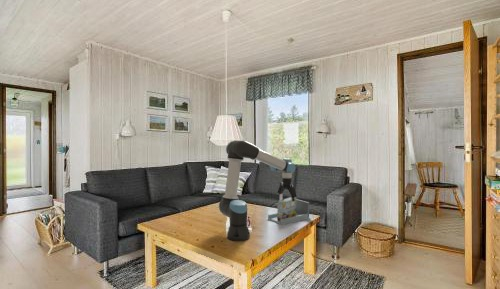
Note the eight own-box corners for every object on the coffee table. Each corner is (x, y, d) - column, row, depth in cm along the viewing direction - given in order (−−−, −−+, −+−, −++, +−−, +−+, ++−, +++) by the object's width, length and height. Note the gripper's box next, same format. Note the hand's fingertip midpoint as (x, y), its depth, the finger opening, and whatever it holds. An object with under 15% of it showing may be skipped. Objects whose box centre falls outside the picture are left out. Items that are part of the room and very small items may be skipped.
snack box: (283, 221, 199) (283, 202, 199) (277, 220, 203) (277, 201, 203) (296, 215, 216) (296, 197, 215) (290, 214, 219) (290, 196, 219)
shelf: (281, 224, 195) (281, 207, 195) (267, 219, 209) (267, 203, 209) (309, 218, 212) (309, 202, 212) (294, 213, 226) (294, 198, 226)
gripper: (301, 179, 201) (300, 206, 201) (280, 175, 221) (280, 200, 221) (294, 179, 196) (293, 207, 196) (273, 176, 217) (273, 201, 217)
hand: (286, 203), depth 209 cm, fingers open, 13 cm apart
